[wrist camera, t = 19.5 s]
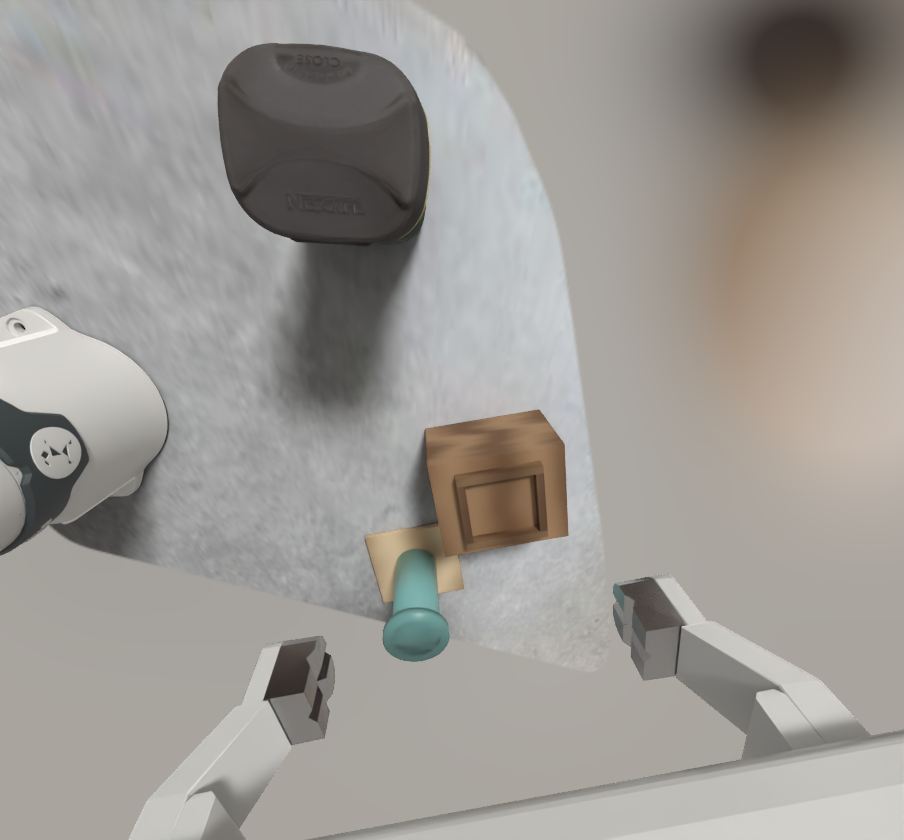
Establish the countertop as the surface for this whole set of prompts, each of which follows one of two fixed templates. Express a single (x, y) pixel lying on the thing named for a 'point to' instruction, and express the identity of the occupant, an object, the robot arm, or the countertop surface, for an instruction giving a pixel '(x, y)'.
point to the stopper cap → (415, 610)
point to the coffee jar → (325, 144)
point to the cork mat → (396, 542)
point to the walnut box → (497, 482)
